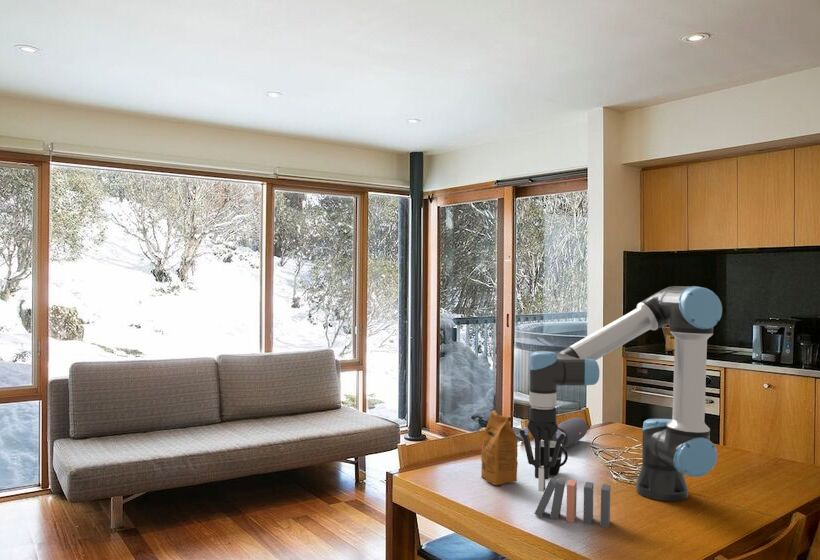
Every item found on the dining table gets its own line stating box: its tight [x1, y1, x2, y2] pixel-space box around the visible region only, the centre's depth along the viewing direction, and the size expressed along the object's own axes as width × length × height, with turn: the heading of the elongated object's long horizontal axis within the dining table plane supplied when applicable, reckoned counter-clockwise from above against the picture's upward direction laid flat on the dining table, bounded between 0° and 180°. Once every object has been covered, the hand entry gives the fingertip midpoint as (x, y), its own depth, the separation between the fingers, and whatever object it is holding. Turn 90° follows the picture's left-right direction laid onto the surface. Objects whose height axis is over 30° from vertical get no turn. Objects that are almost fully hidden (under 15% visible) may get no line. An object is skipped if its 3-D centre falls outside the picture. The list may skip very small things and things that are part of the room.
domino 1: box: [534, 476, 558, 518], centre depth 181 cm, size 2×5×10 cm, turn 158°
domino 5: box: [600, 483, 611, 528], centre depth 175 cm, size 2×5×10 cm, turn 158°
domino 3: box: [565, 479, 578, 523], centre depth 179 cm, size 2×5×10 cm, turn 158°
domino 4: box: [582, 481, 595, 526], centre depth 177 cm, size 2×5×10 cm, turn 158°
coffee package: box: [480, 410, 519, 486], centre depth 212 cm, size 10×12×22 cm
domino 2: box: [549, 477, 567, 521], centre depth 180 cm, size 2×5×10 cm, turn 158°
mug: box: [540, 440, 569, 477], centre depth 220 cm, size 12×9×10 cm
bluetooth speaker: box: [550, 416, 589, 450], centre depth 256 cm, size 23×9×10 cm, turn 147°
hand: (541, 490), depth 182 cm, fingers closed
